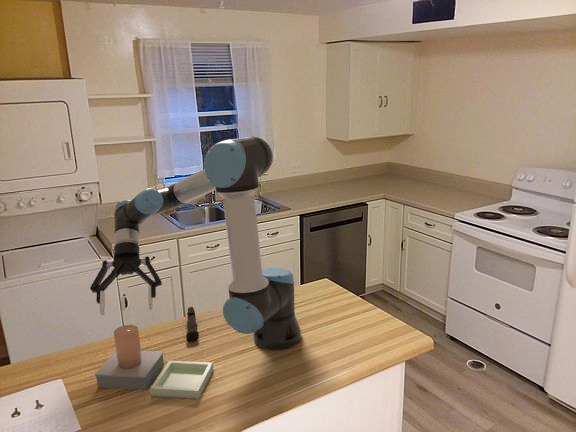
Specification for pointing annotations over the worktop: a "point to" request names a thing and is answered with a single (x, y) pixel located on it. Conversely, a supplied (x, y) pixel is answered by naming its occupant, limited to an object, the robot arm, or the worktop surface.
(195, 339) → the hand tool
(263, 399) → the worktop surface
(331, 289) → the worktop surface
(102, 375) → the grey square plinth
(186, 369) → the tray
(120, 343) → the terracotta domed cylinder
